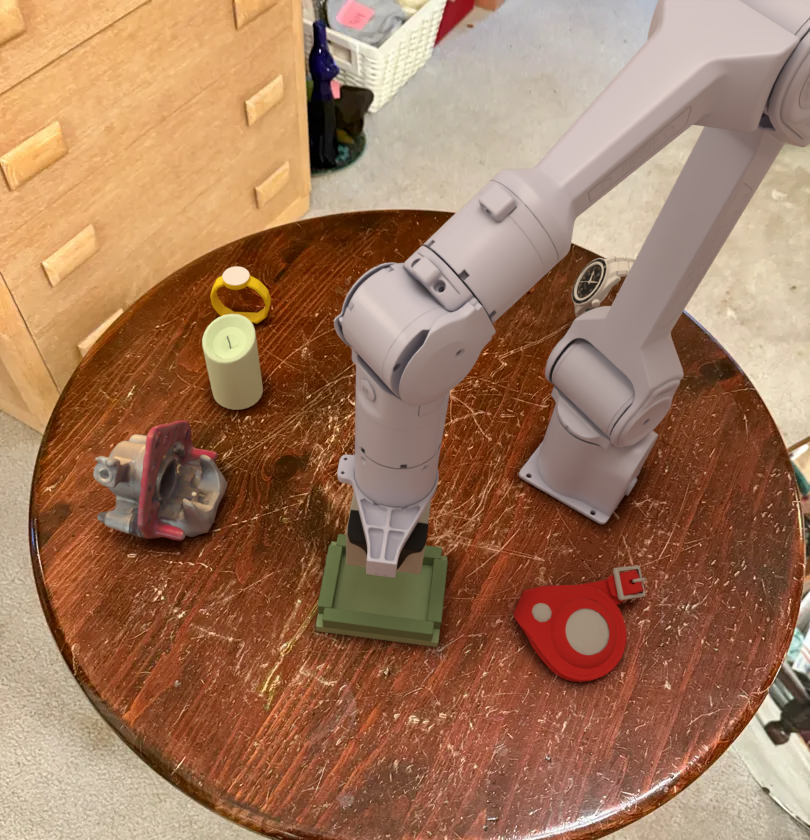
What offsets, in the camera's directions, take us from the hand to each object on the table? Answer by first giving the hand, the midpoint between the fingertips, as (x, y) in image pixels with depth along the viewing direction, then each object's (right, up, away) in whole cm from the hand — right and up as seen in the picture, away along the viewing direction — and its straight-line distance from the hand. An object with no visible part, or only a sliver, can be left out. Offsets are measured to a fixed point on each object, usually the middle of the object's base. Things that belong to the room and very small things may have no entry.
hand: (389, 539), depth 65 cm
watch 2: (-16, +23, +22) cm, 36 cm away
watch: (+22, +21, +24) cm, 38 cm away
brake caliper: (-20, +3, +10) cm, 23 cm away
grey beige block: (0, -1, +1) cm, 1 cm away
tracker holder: (+17, -8, +6) cm, 20 cm away
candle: (-15, +15, +17) cm, 28 cm away
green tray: (-1, -5, +7) cm, 8 cm away
